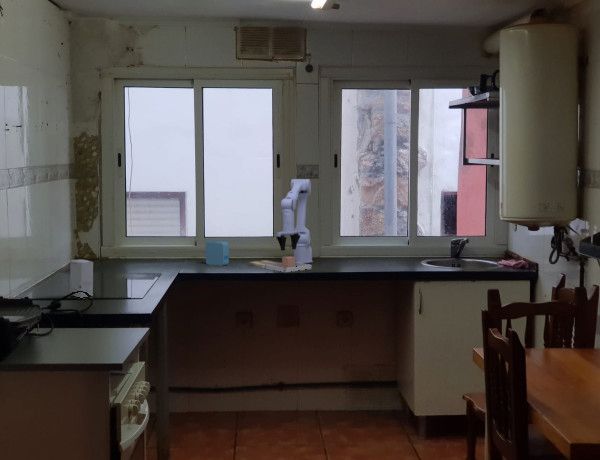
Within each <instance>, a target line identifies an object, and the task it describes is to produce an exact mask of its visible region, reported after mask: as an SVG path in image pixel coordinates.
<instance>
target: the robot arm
mask: <svg viewBox="0 0 600 460" xmlns="http://www.w3.org/2000/svg"><path fill="white" fill-rule="evenodd" d="M311 192H312V182H311V180H310V179H309V178H305V179H304V178H292V179H291V181H290V191H288V192H287V194H286V196H285V198H282V200H281V202H280V209H281V214H282V230H281V231H279V232H276V237H275V238H276V240H277V242H278V244H279V248H280V250H281V251H286V243H287V236H290V237H289V238H290V239H289V240H290V245H291V249H292V250H293V257H295V262H298V263H304V264H309V263H314V261H313V250H312V247H311V246H310V244H311V232H310V230H309V229H308V228H307V227H306V220H307V204H308V203H307V201H308V197H309V196H310V195H311ZM296 206H297V207H296ZM296 208H297V209H296ZM295 210H296V226H295Z"/></svg>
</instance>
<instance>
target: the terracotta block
mask: <svg viewBox="0 0 600 460" xmlns="http://www.w3.org/2000/svg"><path fill="white" fill-rule="evenodd" d="M281 263H282V268H289V267H296V266H295V257H294V256H291V255H289V256H287V255H286V256H282V257H281Z"/></svg>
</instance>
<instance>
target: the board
mask: <svg viewBox="0 0 600 460" xmlns="http://www.w3.org/2000/svg"><path fill="white" fill-rule="evenodd" d="M276 263H281V262H280V261H274V260H268V259H266V260H264V259H263V260H257V261H248V263H247V265H248V266H250V267H256V268H261V269H265V265H268V264H276Z"/></svg>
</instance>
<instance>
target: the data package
mask: <svg viewBox="0 0 600 460" xmlns="http://www.w3.org/2000/svg"><path fill="white" fill-rule="evenodd" d="M229 245H230V244H229V243H228V242H227V241H218V240H217V241H216V240H209V241H206V242H205V264H206V265H208V266H219V267H224V266H228V265H229V263H230V253H229V252H230V248H229V247H230V246H229Z"/></svg>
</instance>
